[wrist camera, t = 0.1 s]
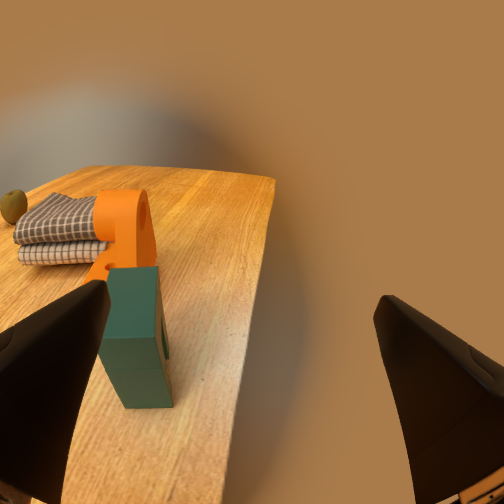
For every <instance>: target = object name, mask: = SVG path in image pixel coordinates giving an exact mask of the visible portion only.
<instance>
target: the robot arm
mask: <svg viewBox="0 0 504 504" xmlns="http://www.w3.org/2000/svg"><path fill="white" fill-rule="evenodd" d="M110 309H111V299H110V295H109V290H108V286H107V283H106V281H104V280H99V279H93V280H91V281H89V282H88V283H86V284H84V285H82V286H80V287H78V288H77V289H75V290H73V291H71V292H69V293H68V294H66V295H64V296H62V297H61V298H59V299H57V300H55V301H54V302H52V303H50V304H48V305H47V306H45V307H43V308H41V309H40V310H38V311H36V312H35V313H33V314H31V315H30V316H28V317H26V318H25V319H23V320H21V321H20V322H18V323H16V324H15V325H14V326H11V327H10V328H8V329H7V330H5V331H3V332H2V333H0V504H31V499H32V497H33V498H35V499H38V500H40V501H42V502H44V503H47V504H61V496H62V489H63V483H64V476H65V471H66V465H67V460H68V455H69V450H70V445H71V441H72V437H73V433H74V429H75V425H76V421H77V417H78V414H79V410H80V406H81V403H82V400H83V396H84V393H85V390H86V387H87V384H88V380H89V377H90V374H91V371H92V368H93V366H94V363H95V360H96V357H97V354H98V351H99V349H100V346H101V342H102V338H103V334H104V331H105V327H106V323H107V320H108V316H109V312H110ZM373 320H374V325H375V328H376V333H377V338H378V342H379V347H380V351H381V356H382V359H383V363H384V366H385V369H386V372H387V376H388V379H389V382H390V386H391V389H392V392H393V396H394V400H395V404H396V407H397V411H398V415H399V419H400V423H401V426H402V431H403V435H404V440H405V444H406V448H407V454H408V458H409V464H410V469H411V475H412V480H413V487H414V494H415V501H416V504H436V503H438V502H440V501H443V500H445V499H447V498H449V497H451V496H453V495H455V494H457V493H458V497H459V499H457V500H455V501H454V502H452V503H451V504H504V367H503V366H501V365H500V364H498V363H497V362H495V361H493V360H492V359H490V358H489V357H487V356H485V355H484V354H483V353H481V352H480V351H478V350H476V349H475V348H474V347H472V346H471V345H468V344H467V343H466V342H465V341H463V340H462V339H460V338H459V337H457V336H456V335H454V334H453V333H451V332H450V331H448V330H447V329H445V328H444V327H442V326H441V325H439V324H438V323H436V322H435V321H433V320H432V319H430V318H428V317H427V316H425V315H424V314H422V313H420V312H419V311H418V310H416V309H414V308H413V307H411V306H410V305H408V304H407V303H405V302H403V301H402V300H400V299H399V298H397V297H395V296H394V295H383V296H382V297H381V298H380V301H379V303H378V306H377V308H376V310H375V313H374V317H373Z"/></svg>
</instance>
